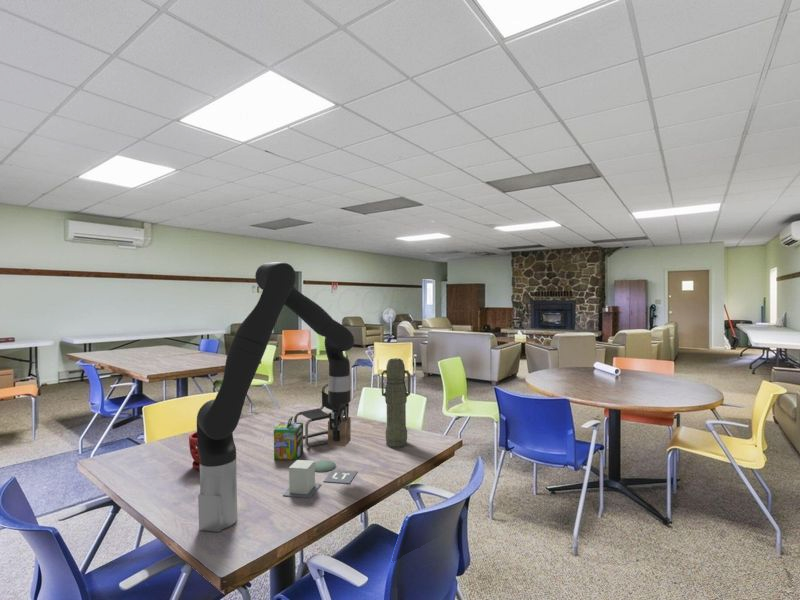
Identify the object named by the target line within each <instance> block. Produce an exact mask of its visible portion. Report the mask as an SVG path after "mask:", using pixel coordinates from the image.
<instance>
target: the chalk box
mask: <svg viewBox="0 0 800 600" xmlns="http://www.w3.org/2000/svg"><path fill="white" fill-rule="evenodd" d="M293 417H294V416H293V415H292V416H291V417H290V418H289V419H288V422H287V421H286V422H279V424H278V425H277V426H276V427H275V429H273V460H290V461H291V460H292V461H293V460H295V461H296V460H299V458H300V456H301V455H302V453H303V452H304V438H303V436H304V423H303V422H297V423H294V422H292V421H293Z"/></svg>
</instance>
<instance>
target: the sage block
mask: <svg viewBox="0 0 800 600" xmlns="http://www.w3.org/2000/svg"><path fill="white" fill-rule="evenodd" d="M315 462H316V461H315V460H308V459H307V460H305V459H297V460H295V461H294V462H293V463H292V464H291V465H290V466H289V467H288V483H289V484H288V485H289V488H288V489H289V493H297V494H308V493H309V492H310V491H311V490H312V489H313V487H314V486H315V483H316V472H315Z"/></svg>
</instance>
